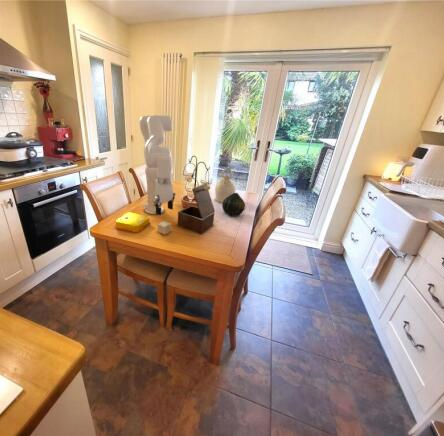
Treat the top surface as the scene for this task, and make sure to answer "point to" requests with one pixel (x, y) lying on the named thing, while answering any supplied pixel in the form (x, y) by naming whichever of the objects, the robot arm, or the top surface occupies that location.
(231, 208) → the squash
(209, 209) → the lid
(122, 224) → the element tile
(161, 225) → the block
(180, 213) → the chest
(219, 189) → the cream vase
